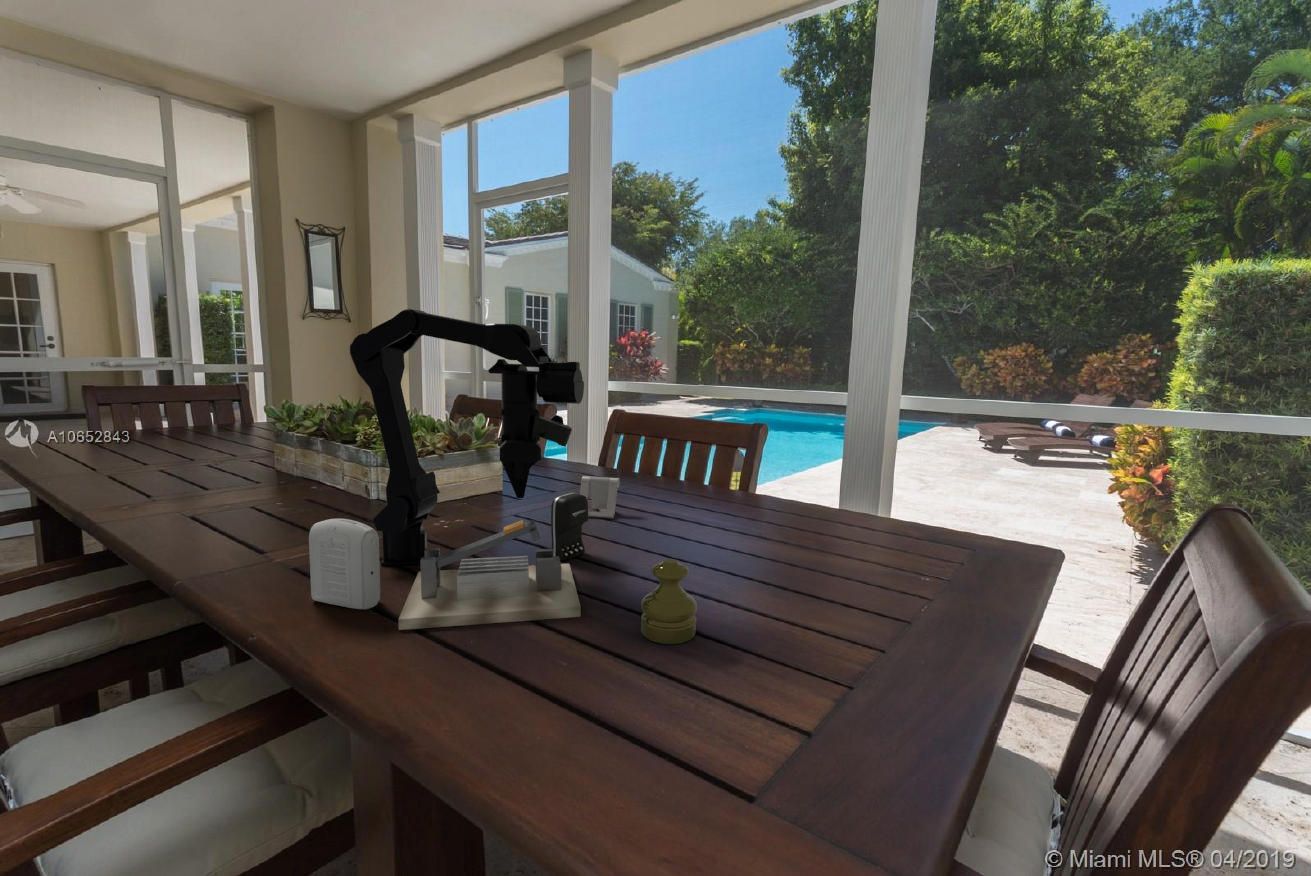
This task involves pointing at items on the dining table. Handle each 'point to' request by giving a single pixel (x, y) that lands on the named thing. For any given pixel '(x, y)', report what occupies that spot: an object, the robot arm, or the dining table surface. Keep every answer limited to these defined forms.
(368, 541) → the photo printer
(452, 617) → the base board
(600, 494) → the portable electronic device stand
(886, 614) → the dining table surface
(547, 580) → the bracket
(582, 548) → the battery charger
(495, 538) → the strap
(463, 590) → the finned block
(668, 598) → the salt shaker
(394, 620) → the dining table surface
